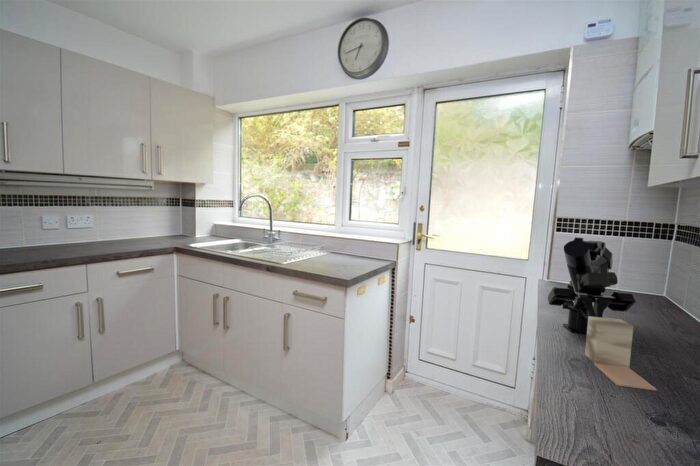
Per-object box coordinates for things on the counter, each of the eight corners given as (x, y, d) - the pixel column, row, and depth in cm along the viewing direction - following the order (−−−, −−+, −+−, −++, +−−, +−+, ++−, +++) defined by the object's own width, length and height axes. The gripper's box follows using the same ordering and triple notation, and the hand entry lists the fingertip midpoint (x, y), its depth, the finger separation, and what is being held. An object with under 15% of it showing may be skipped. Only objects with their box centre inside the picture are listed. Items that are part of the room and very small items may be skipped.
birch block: (584, 354, 81) (588, 316, 81) (616, 358, 80) (620, 319, 79) (595, 363, 77) (598, 323, 76) (629, 367, 75) (633, 326, 74)
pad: (593, 364, 76) (593, 362, 76) (628, 368, 75) (628, 367, 75) (616, 385, 67) (616, 384, 67) (656, 390, 65) (656, 389, 65)
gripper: (554, 257, 88) (568, 309, 78) (635, 262, 83) (660, 317, 73) (542, 280, 96) (553, 329, 86) (615, 285, 91) (635, 337, 82)
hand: (598, 328), depth 82 cm, fingers closed
